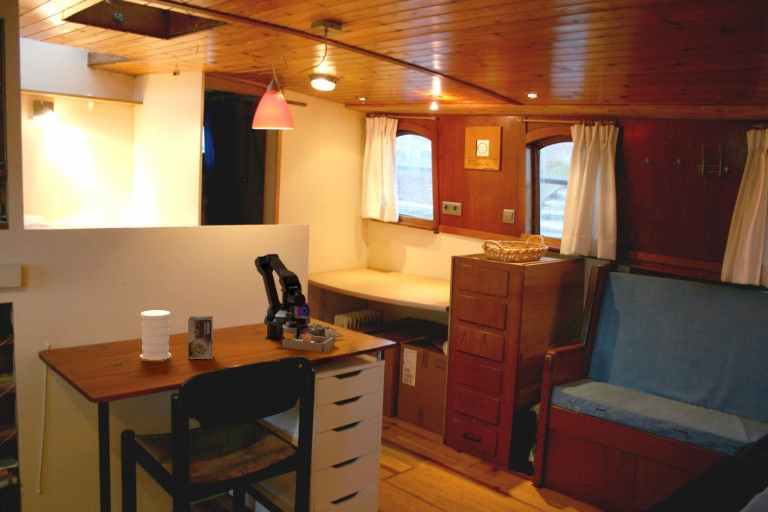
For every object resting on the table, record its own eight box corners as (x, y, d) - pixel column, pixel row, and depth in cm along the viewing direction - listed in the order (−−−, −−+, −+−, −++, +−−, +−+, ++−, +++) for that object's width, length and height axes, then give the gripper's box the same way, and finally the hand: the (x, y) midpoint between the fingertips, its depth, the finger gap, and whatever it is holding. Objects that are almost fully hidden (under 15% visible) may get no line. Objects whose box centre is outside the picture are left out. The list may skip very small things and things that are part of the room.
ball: (300, 343, 281) (300, 334, 281) (304, 341, 285) (304, 332, 285) (309, 344, 280) (309, 335, 280) (312, 342, 284) (313, 333, 284)
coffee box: (213, 355, 263) (213, 316, 261) (211, 360, 257) (212, 319, 255) (189, 355, 261) (189, 315, 260) (187, 360, 255) (187, 319, 253)
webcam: (297, 333, 305) (298, 302, 304) (276, 329, 312) (277, 298, 311) (314, 329, 316) (315, 298, 315) (294, 325, 323) (295, 295, 321)
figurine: (327, 320, 313) (353, 326, 303) (326, 333, 314) (352, 339, 303) (297, 323, 298) (324, 330, 287) (295, 337, 298) (322, 344, 288)
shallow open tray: (282, 347, 280) (282, 338, 279) (294, 341, 291) (294, 332, 291) (323, 352, 274) (323, 343, 274) (334, 346, 285) (334, 337, 285)
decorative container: (168, 362, 251) (168, 316, 249) (136, 362, 249) (136, 315, 247) (173, 354, 263) (173, 310, 261) (142, 354, 261) (142, 309, 259)
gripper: (260, 304, 279) (259, 340, 280) (300, 308, 273) (299, 345, 275) (272, 299, 289) (271, 334, 291) (311, 303, 284) (310, 339, 285)
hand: (287, 338), depth 285 cm, fingers open, 9 cm apart
